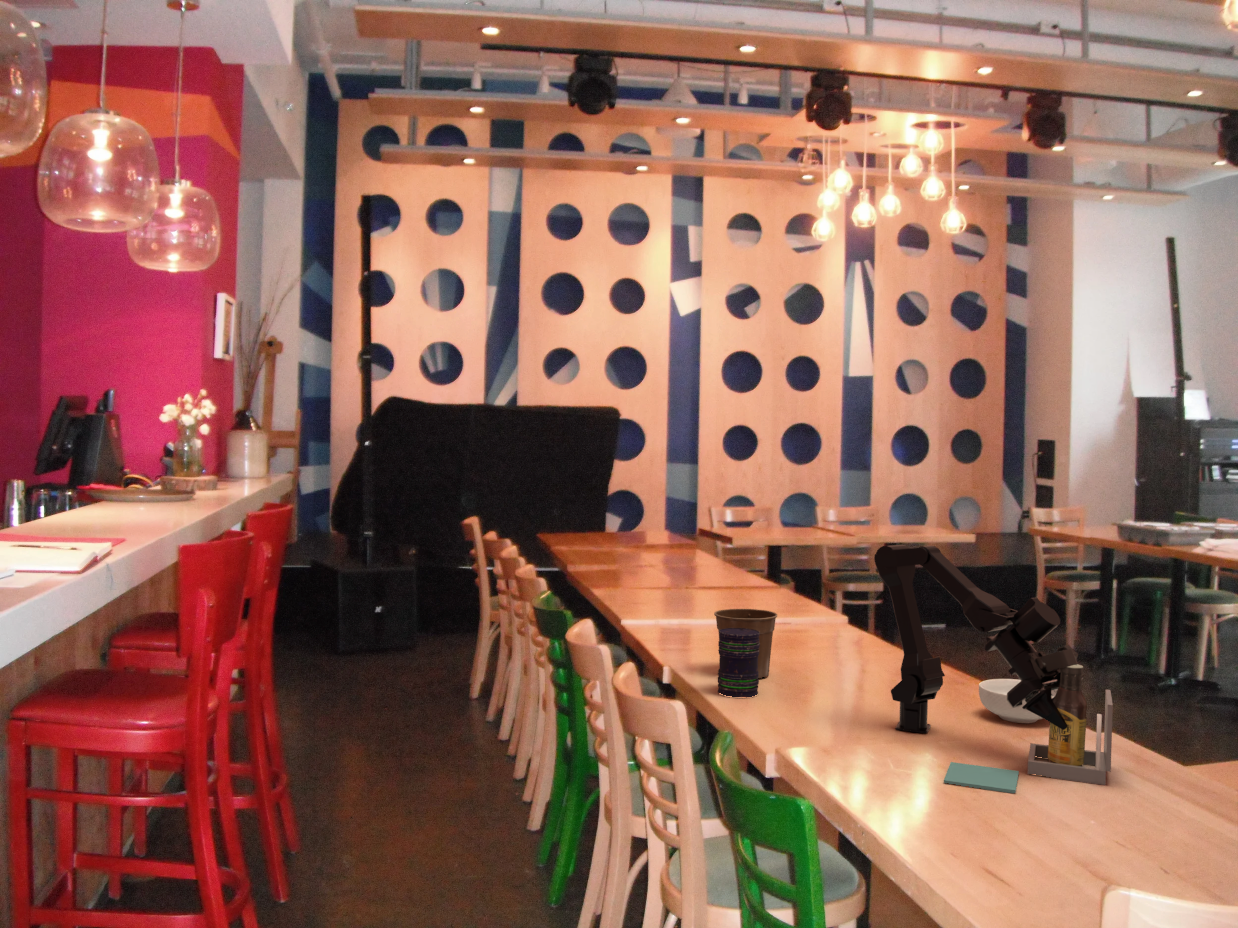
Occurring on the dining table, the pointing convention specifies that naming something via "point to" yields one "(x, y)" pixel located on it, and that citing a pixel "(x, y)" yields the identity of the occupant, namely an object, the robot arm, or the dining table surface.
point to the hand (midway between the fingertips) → (1074, 725)
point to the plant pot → (755, 621)
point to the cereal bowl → (1004, 701)
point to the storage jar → (738, 662)
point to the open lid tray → (1090, 757)
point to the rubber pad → (982, 777)
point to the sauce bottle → (1069, 720)
